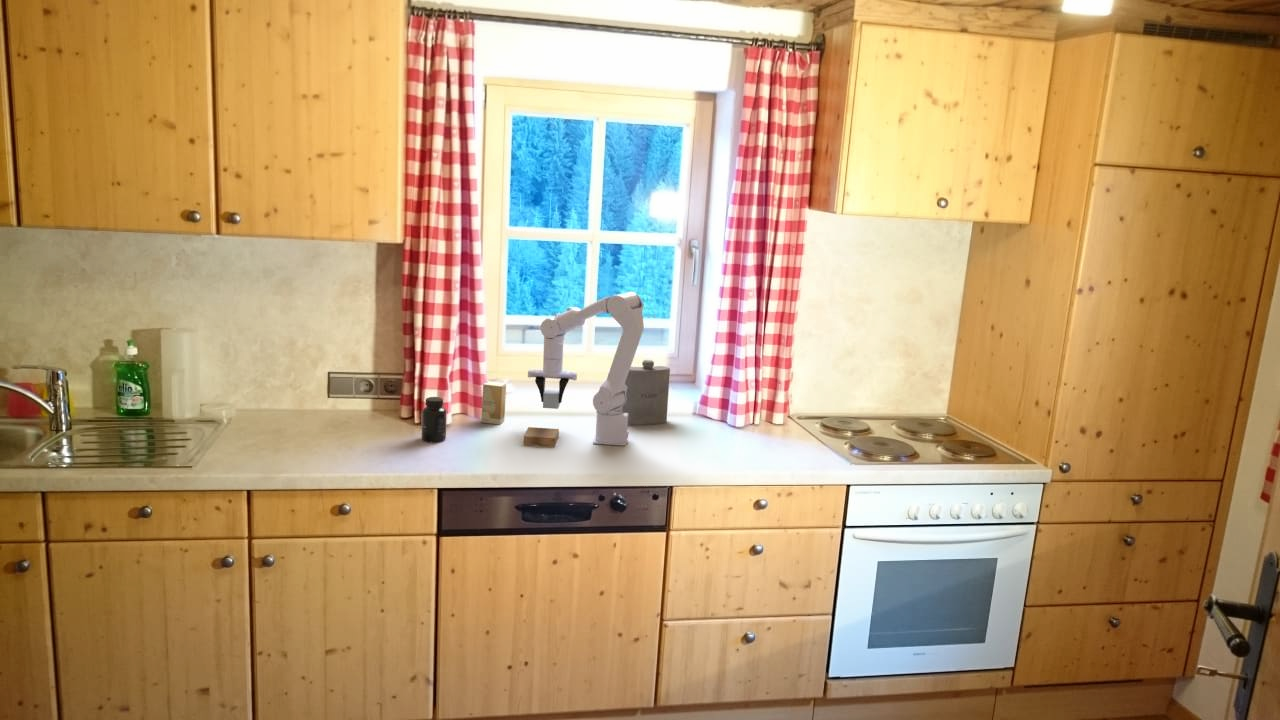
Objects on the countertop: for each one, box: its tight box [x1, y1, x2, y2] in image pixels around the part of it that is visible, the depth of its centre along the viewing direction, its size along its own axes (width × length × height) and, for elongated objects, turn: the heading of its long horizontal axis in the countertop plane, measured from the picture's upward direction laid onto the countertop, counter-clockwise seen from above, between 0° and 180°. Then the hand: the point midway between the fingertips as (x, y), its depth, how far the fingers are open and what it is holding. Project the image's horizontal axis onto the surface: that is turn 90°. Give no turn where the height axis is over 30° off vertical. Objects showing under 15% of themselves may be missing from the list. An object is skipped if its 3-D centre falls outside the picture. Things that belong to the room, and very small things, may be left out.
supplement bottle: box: [421, 396, 447, 444], centre depth 265 cm, size 7×7×12 cm
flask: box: [622, 359, 671, 426], centre depth 293 cm, size 15×6×20 cm, turn 110°
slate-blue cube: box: [542, 389, 561, 410], centre depth 281 cm, size 4×4×4 cm
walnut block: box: [522, 426, 560, 448], centre depth 270 cm, size 9×9×3 cm
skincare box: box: [480, 380, 507, 425], centre depth 285 cm, size 6×4×12 cm
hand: (551, 401), depth 281 cm, fingers closed on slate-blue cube, 4 cm apart
